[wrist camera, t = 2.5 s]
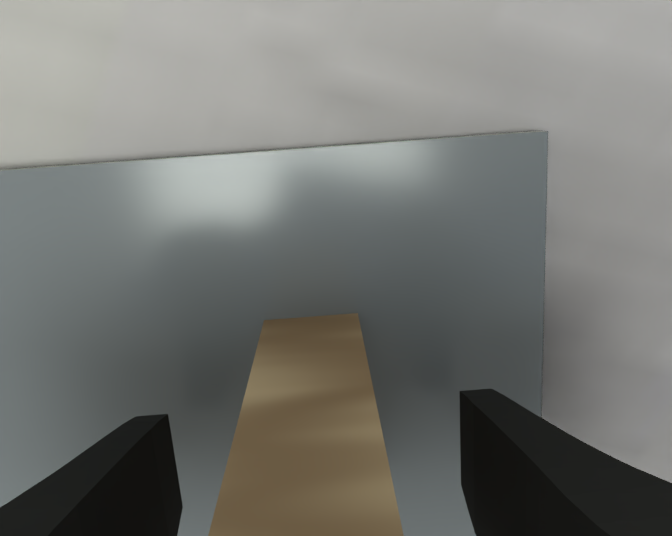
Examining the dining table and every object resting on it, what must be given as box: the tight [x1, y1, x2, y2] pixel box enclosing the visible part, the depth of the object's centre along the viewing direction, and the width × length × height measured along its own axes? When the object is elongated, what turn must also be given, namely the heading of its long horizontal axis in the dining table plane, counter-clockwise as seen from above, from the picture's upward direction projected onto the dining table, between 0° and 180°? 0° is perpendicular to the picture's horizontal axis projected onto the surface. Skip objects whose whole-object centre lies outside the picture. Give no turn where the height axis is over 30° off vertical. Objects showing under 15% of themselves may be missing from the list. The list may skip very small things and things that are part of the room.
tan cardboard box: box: [208, 313, 404, 536], centre depth 9 cm, size 2×4×7 cm, turn 4°
